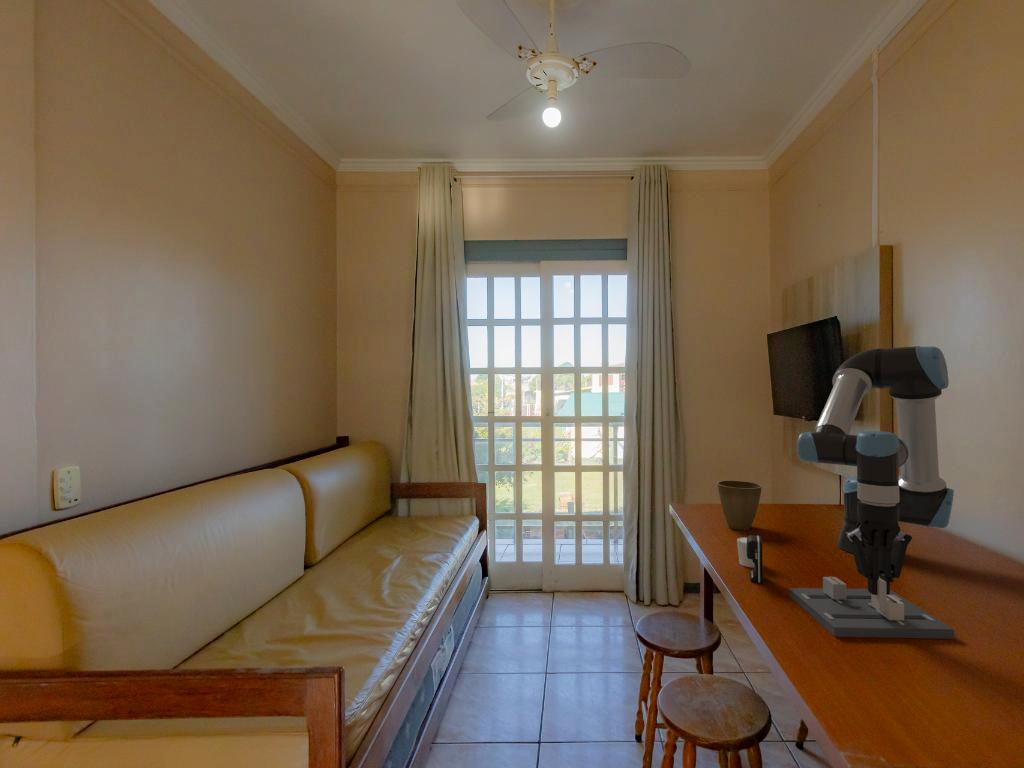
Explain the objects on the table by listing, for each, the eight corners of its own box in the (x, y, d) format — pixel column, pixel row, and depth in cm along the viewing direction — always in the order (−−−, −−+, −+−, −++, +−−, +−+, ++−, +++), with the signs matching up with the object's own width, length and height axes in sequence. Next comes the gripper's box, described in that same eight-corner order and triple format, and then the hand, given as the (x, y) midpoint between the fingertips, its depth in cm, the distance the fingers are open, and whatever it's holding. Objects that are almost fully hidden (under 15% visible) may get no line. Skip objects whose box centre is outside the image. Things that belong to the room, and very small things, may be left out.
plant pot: (760, 535, 174) (759, 489, 174) (714, 529, 182) (714, 485, 182) (764, 524, 186) (763, 482, 186) (721, 519, 194) (721, 478, 194)
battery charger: (746, 573, 141) (746, 532, 141) (761, 574, 140) (761, 534, 140) (747, 582, 135) (746, 540, 135) (762, 584, 133) (762, 541, 133)
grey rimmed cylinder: (765, 568, 144) (765, 544, 144) (740, 567, 145) (739, 543, 145) (758, 560, 151) (758, 537, 151) (734, 559, 152) (734, 536, 152)
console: (888, 597, 124) (888, 586, 124) (954, 638, 104) (953, 626, 104) (788, 595, 126) (788, 585, 126) (834, 636, 106) (834, 624, 106)
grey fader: (835, 591, 122) (835, 575, 122) (846, 599, 118) (846, 583, 118) (823, 591, 123) (822, 575, 123) (833, 599, 118) (833, 582, 118)
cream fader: (890, 610, 112) (890, 593, 112) (904, 620, 108) (903, 602, 108) (876, 610, 112) (875, 593, 112) (889, 620, 108) (889, 602, 108)
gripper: (897, 498, 113) (898, 601, 113) (837, 498, 114) (838, 600, 114) (921, 506, 106) (922, 617, 106) (857, 506, 107) (858, 616, 107)
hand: (878, 608), depth 110 cm, fingers closed
